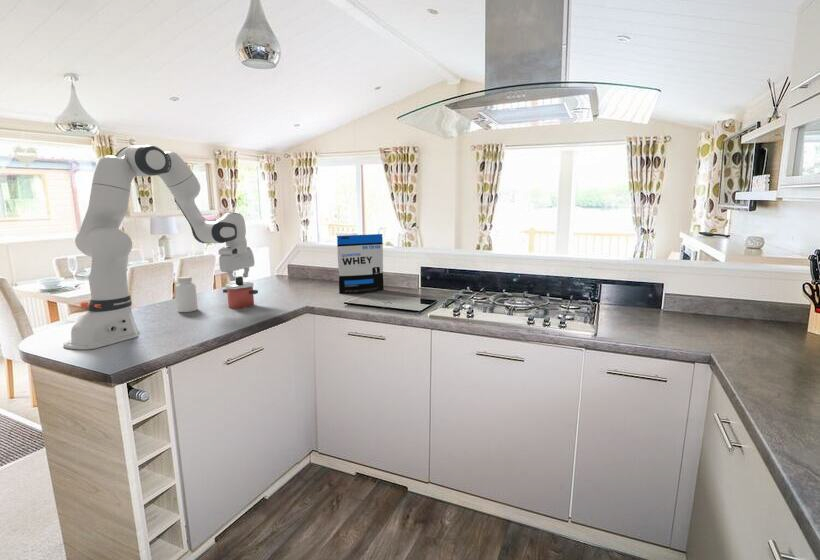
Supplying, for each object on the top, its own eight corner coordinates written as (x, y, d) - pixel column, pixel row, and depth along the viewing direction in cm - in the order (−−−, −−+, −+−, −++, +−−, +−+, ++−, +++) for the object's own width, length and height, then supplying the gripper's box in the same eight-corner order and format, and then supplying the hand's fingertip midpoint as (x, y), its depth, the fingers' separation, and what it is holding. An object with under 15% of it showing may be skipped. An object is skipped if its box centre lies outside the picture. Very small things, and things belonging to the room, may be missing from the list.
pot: (250, 309, 192) (248, 289, 190) (217, 307, 196) (216, 288, 195) (264, 304, 202) (263, 285, 201) (233, 302, 207) (232, 283, 205)
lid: (243, 289, 190) (242, 279, 190) (219, 288, 193) (218, 278, 193) (258, 284, 202) (258, 275, 201) (236, 283, 205) (235, 274, 204)
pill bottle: (201, 308, 195) (198, 275, 192) (191, 312, 187) (187, 278, 185) (185, 308, 196) (181, 275, 193) (173, 312, 188) (170, 278, 185)
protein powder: (337, 292, 228) (334, 235, 222) (380, 288, 237) (379, 233, 232) (341, 295, 219) (339, 236, 214) (386, 291, 228) (385, 234, 223)
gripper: (245, 246, 205) (247, 275, 208) (215, 251, 186) (218, 282, 188) (256, 246, 204) (258, 275, 206) (228, 251, 184) (230, 283, 187)
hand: (239, 279), depth 197 cm, fingers open, 8 cm apart
